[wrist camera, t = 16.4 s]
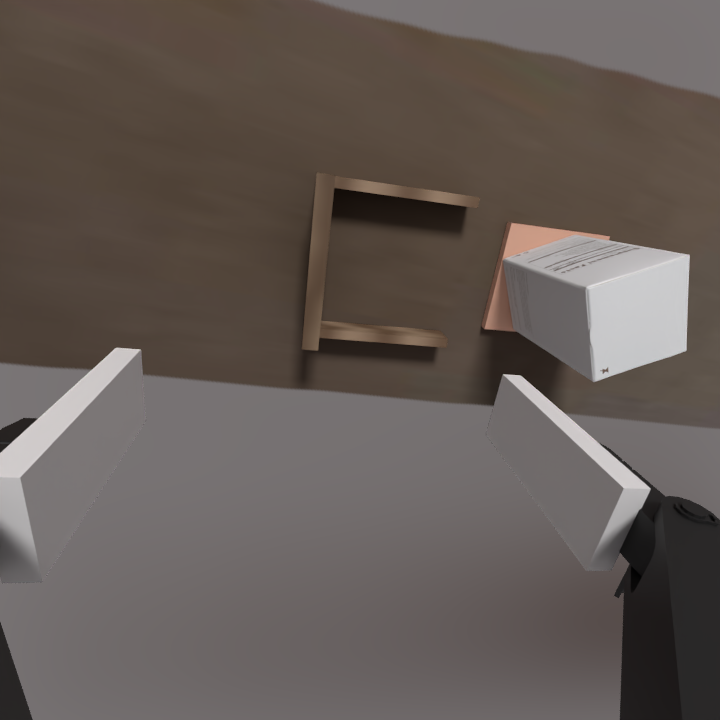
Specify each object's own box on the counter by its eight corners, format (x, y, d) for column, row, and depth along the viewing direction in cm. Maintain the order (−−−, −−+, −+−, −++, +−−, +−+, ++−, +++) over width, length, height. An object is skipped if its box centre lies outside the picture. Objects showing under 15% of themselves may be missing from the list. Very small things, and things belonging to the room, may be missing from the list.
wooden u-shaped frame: (301, 327, 47) (301, 349, 41) (314, 173, 41) (316, 172, 35) (438, 338, 50) (458, 360, 44) (468, 196, 44) (496, 198, 38)
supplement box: (583, 307, 50) (690, 354, 36) (511, 330, 50) (592, 386, 36) (577, 231, 46) (695, 252, 32) (500, 256, 46) (586, 288, 32)
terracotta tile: (481, 326, 50) (484, 328, 49) (507, 222, 46) (511, 223, 45) (570, 334, 52) (575, 336, 51) (603, 235, 48) (609, 236, 47)
